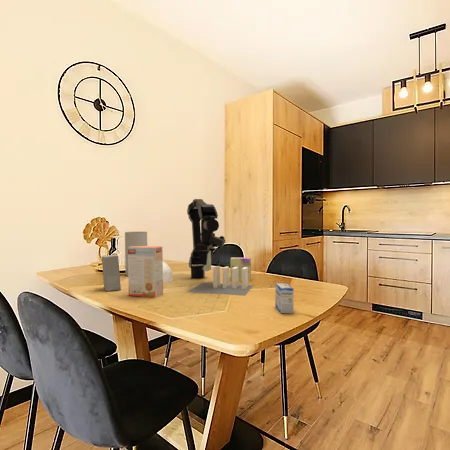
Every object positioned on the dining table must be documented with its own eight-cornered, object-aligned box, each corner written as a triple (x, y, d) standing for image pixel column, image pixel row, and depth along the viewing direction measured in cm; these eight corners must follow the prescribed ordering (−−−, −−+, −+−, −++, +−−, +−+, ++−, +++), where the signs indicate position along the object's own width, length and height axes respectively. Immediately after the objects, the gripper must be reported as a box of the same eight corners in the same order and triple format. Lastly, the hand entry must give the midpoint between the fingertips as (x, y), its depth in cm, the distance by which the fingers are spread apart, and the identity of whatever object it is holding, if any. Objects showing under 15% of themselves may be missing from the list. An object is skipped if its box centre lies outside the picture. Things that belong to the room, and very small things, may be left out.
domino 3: (222, 287, 139) (222, 268, 139) (226, 285, 145) (225, 266, 145) (226, 288, 139) (225, 268, 139) (229, 285, 144) (229, 266, 144)
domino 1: (203, 271, 142) (203, 251, 141) (208, 269, 147) (207, 250, 147) (207, 271, 141) (206, 252, 141) (211, 269, 147) (210, 250, 147)
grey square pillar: (144, 276, 172) (143, 232, 171) (122, 276, 172) (121, 232, 172) (150, 272, 184) (149, 231, 184) (129, 272, 185) (128, 231, 184)
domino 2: (213, 287, 140) (213, 267, 140) (217, 284, 146) (216, 266, 146) (216, 287, 140) (216, 268, 140) (220, 284, 146) (220, 266, 146)
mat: (186, 293, 132) (186, 291, 132) (202, 283, 151) (202, 282, 151) (245, 296, 125) (245, 295, 125) (253, 286, 144) (253, 285, 144)
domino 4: (232, 288, 138) (231, 268, 138) (235, 285, 144) (235, 266, 144) (235, 288, 138) (235, 268, 137) (238, 285, 143) (238, 266, 143)
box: (250, 279, 161) (250, 257, 160) (250, 281, 155) (250, 258, 155) (231, 279, 162) (231, 257, 161) (230, 281, 156) (230, 258, 156)
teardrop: (153, 284, 152) (153, 260, 152) (149, 280, 162) (149, 257, 162) (175, 281, 157) (174, 258, 156) (169, 278, 167) (169, 256, 167)
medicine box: (275, 307, 110) (274, 283, 110) (287, 306, 110) (287, 282, 110) (280, 314, 102) (280, 288, 102) (294, 313, 102) (293, 287, 102)
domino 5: (241, 288, 137) (241, 268, 137) (244, 286, 143) (244, 266, 142) (245, 289, 136) (245, 269, 136) (248, 286, 142) (247, 267, 142)
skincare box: (121, 290, 139) (120, 255, 139) (104, 292, 136) (103, 256, 135) (117, 286, 147) (117, 253, 146) (101, 288, 143) (101, 254, 143)
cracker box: (163, 295, 128) (163, 246, 128) (154, 299, 123) (154, 247, 122) (137, 292, 134) (137, 245, 134) (128, 295, 129) (127, 246, 128)
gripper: (217, 232, 133) (218, 267, 133) (228, 230, 151) (228, 261, 151) (193, 231, 136) (194, 266, 136) (207, 230, 154) (207, 261, 154)
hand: (207, 264), depth 144 cm, fingers closed on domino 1, 6 cm apart
